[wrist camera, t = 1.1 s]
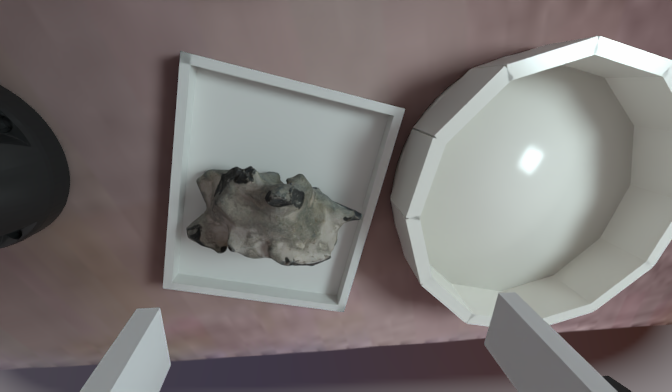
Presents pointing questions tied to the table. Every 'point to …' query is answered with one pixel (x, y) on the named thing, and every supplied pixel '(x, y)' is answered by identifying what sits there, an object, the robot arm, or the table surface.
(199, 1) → the table surface
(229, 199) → the decorative stone
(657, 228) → the bowl
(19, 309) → the table surface
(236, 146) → the tray
